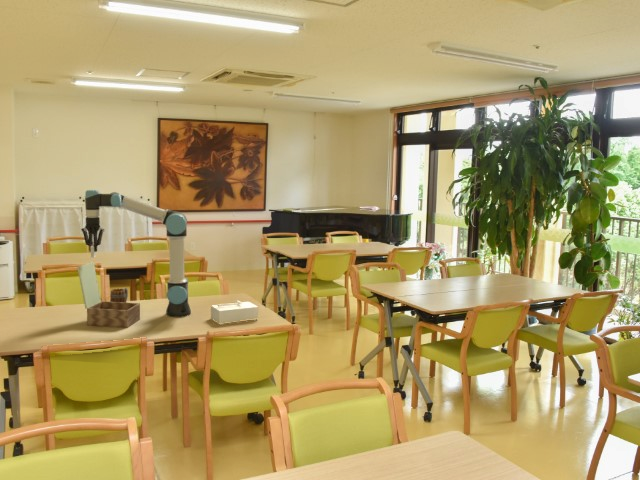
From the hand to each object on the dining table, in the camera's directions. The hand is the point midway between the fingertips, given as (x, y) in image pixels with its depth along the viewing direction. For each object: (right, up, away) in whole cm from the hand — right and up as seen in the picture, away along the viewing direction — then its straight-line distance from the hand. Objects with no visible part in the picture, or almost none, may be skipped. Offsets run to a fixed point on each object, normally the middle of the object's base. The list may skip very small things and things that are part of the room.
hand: (93, 257), depth 341 cm
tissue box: (+79, -39, +19) cm, 91 cm away
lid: (-3, -16, +2) cm, 17 cm away
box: (+11, -39, +4) cm, 40 cm away
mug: (+7, -36, +26) cm, 45 cm away
